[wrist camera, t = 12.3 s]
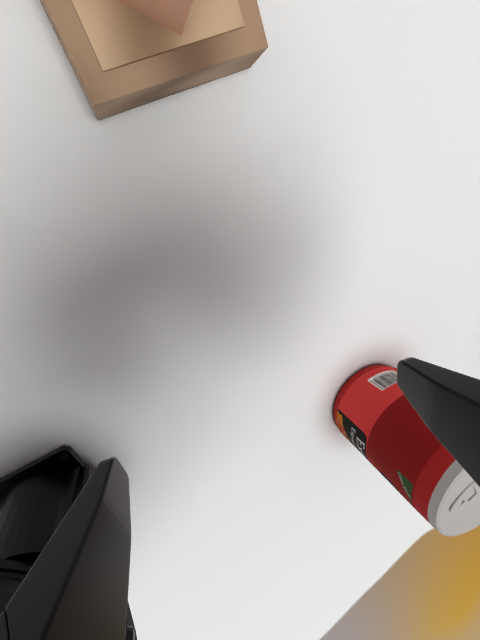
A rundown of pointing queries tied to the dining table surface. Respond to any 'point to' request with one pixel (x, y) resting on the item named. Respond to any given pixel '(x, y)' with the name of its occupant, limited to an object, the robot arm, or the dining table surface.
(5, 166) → the dining table surface
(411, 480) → the canned food
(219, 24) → the base block
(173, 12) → the terracotta block
